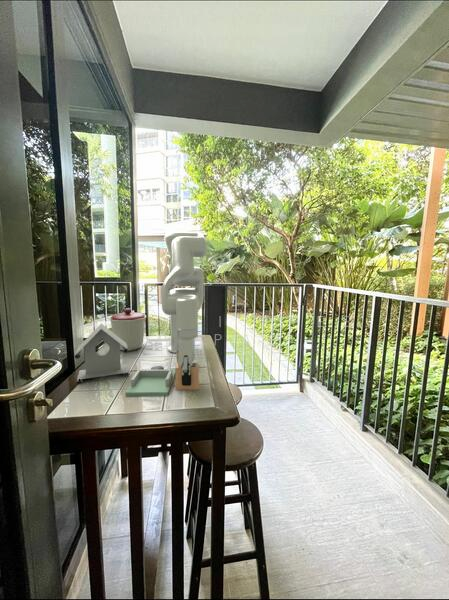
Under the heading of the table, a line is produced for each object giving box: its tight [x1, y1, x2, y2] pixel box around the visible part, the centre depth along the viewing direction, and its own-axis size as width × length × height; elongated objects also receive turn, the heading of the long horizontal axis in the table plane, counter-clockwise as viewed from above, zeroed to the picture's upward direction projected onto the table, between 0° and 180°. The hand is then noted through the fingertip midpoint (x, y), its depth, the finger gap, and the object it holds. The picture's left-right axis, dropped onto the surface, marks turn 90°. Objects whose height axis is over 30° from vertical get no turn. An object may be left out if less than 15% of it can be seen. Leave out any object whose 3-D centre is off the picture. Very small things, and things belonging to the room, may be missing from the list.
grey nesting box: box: [74, 323, 130, 382], centre depth 106 cm, size 18×10×20 cm, turn 114°
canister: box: [108, 307, 147, 352], centre depth 140 cm, size 18×18×21 cm
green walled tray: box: [125, 365, 175, 397], centre depth 101 cm, size 20×14×4 cm
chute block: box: [174, 362, 200, 391], centre depth 98 cm, size 5×8×8 cm, turn 92°
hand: (187, 380), depth 98 cm, fingers open, 6 cm apart
